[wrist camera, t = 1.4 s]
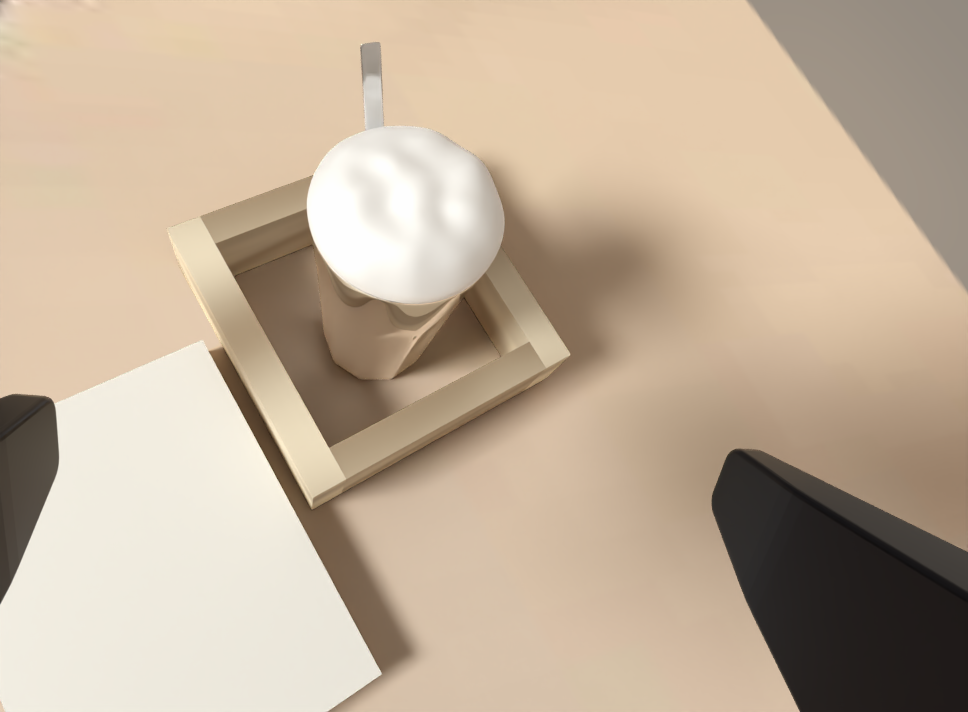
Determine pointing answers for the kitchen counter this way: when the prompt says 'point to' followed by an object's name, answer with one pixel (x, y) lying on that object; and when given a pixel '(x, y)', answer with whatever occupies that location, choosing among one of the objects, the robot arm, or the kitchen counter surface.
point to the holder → (315, 467)
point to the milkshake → (396, 235)
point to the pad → (172, 565)
